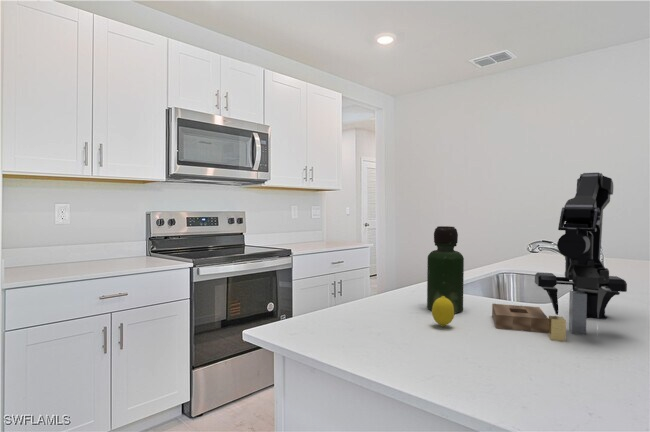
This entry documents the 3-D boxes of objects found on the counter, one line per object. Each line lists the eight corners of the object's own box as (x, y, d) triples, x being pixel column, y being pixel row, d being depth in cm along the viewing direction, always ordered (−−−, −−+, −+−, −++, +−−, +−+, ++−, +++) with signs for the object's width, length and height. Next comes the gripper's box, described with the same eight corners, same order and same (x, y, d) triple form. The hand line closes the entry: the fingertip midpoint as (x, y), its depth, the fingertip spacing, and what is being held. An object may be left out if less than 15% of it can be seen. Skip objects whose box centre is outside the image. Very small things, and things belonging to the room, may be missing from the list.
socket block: (539, 319, 112) (539, 307, 112) (548, 332, 100) (548, 318, 100) (492, 315, 115) (492, 303, 115) (495, 328, 104) (496, 314, 104)
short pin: (562, 337, 97) (562, 316, 97) (565, 341, 94) (565, 320, 94) (548, 336, 98) (548, 315, 98) (551, 340, 95) (551, 319, 95)
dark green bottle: (462, 315, 116) (463, 228, 115) (425, 312, 119) (426, 227, 118) (463, 306, 125) (464, 226, 125) (428, 304, 129) (429, 225, 128)
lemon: (455, 330, 102) (455, 299, 102) (432, 329, 103) (432, 298, 103) (452, 324, 107) (453, 294, 107) (431, 323, 108) (431, 293, 108)
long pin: (582, 331, 102) (583, 291, 102) (586, 334, 99) (586, 294, 99) (568, 329, 103) (569, 290, 103) (572, 333, 100) (572, 293, 100)
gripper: (543, 256, 96) (542, 321, 96) (637, 259, 90) (635, 329, 90) (534, 250, 106) (533, 309, 107) (618, 253, 100) (617, 316, 101)
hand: (577, 316), depth 101 cm, fingers open, 9 cm apart
